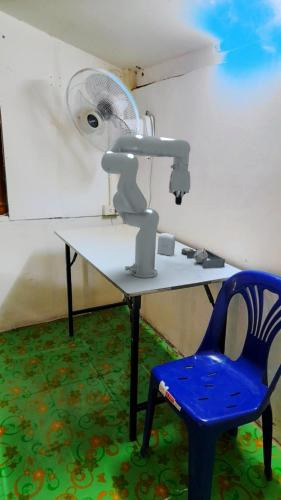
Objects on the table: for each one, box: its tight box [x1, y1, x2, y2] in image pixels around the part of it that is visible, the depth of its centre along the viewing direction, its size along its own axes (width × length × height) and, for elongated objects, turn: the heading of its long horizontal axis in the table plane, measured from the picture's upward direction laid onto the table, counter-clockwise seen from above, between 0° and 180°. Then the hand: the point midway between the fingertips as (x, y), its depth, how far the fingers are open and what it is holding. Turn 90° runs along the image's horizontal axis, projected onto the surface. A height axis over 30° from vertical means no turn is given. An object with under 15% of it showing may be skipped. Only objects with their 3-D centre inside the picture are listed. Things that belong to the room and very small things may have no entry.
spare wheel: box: [181, 247, 195, 256], centre depth 192 cm, size 7×7×3 cm
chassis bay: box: [186, 249, 226, 270], centre depth 177 cm, size 14×19×4 cm
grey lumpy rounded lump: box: [192, 248, 210, 265], centre depth 174 cm, size 9×8×10 cm
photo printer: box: [157, 232, 176, 257], centre depth 188 cm, size 10×4×12 cm, turn 60°
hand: (178, 204), depth 168 cm, fingers closed
